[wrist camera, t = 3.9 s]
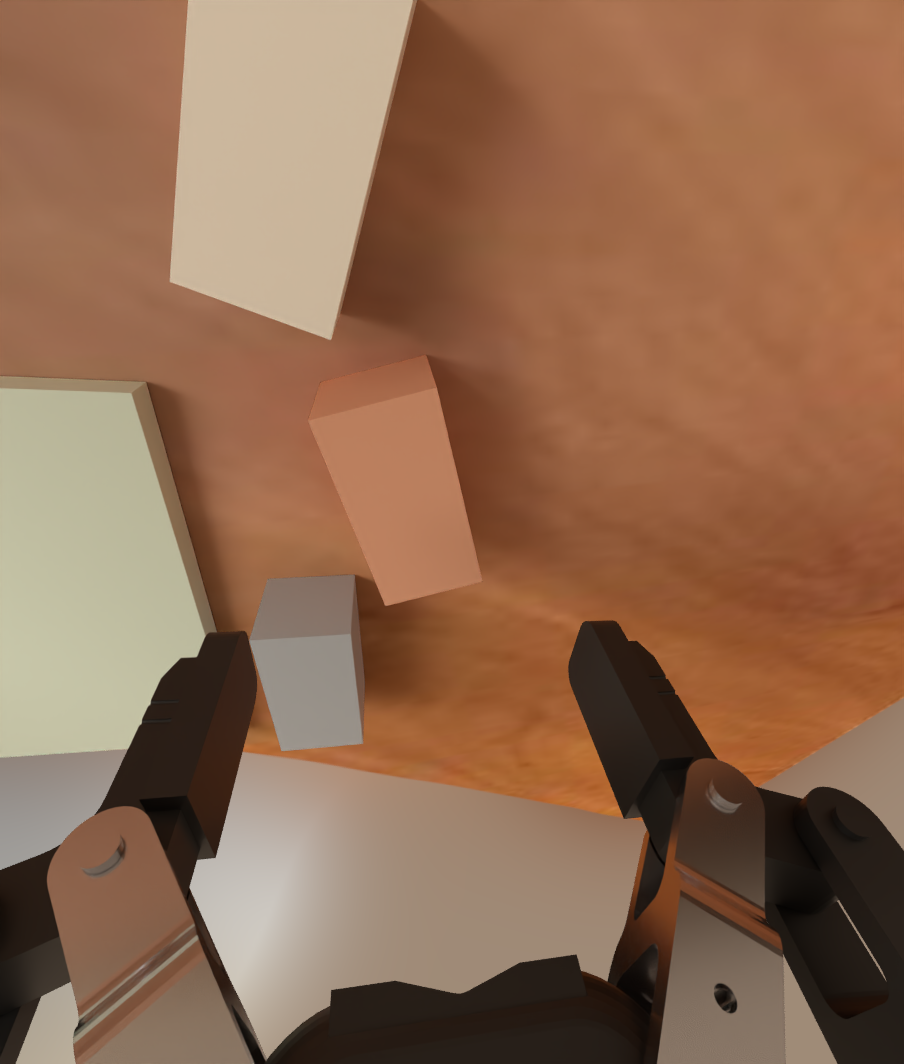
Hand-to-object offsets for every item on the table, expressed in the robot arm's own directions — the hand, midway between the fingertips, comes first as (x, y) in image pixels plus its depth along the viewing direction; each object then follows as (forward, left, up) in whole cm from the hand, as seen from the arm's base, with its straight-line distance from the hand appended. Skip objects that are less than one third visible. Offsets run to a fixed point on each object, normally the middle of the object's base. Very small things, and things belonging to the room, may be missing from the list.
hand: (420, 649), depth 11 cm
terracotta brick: (0, 0, -10) cm, 10 cm away
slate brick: (+10, -4, -10) cm, 15 cm away
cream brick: (-10, -3, -10) cm, 15 cm away
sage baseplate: (+7, -17, -10) cm, 21 cm away
